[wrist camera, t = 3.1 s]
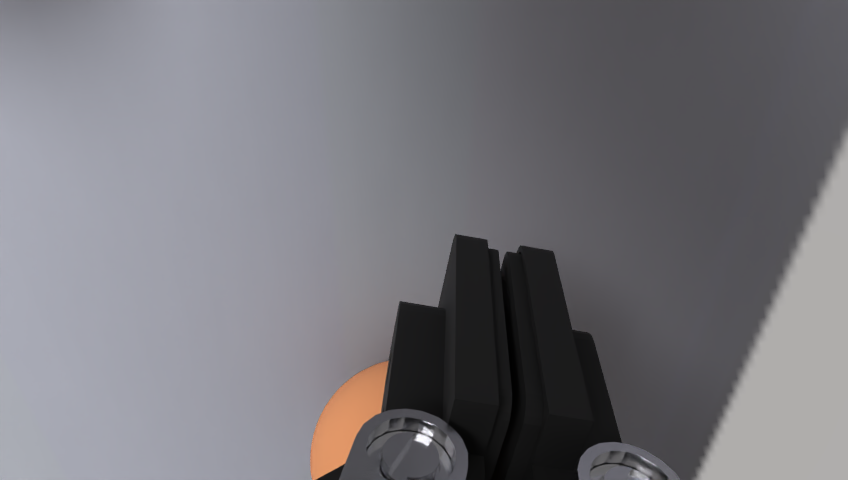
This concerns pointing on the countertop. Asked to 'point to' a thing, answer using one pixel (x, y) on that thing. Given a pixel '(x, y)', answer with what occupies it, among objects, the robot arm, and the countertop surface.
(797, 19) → the countertop surface
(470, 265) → the robot arm
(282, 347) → the countertop surface
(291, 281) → the countertop surface
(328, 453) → the ball
